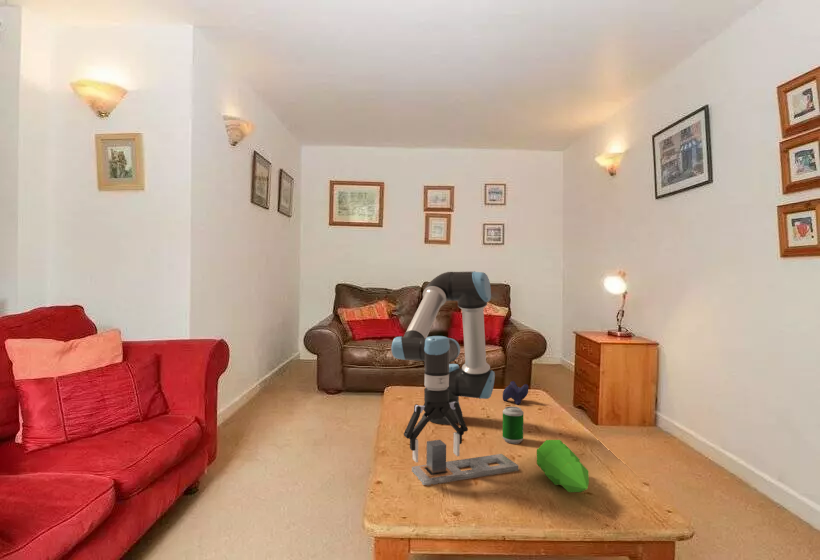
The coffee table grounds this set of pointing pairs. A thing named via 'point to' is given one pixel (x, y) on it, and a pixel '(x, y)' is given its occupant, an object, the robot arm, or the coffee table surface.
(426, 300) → the robot arm
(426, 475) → the grey board with holes
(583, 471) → the decorative tree
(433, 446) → the rectangular block
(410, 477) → the coffee table surface
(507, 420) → the soda can
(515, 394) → the tetrapod
